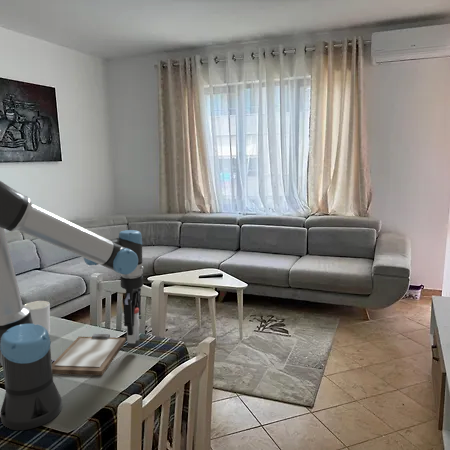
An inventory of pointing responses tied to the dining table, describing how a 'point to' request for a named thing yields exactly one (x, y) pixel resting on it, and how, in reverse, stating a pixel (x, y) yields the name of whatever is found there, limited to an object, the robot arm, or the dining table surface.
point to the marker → (136, 328)
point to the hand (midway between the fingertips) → (133, 339)
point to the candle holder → (40, 313)
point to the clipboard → (88, 355)
